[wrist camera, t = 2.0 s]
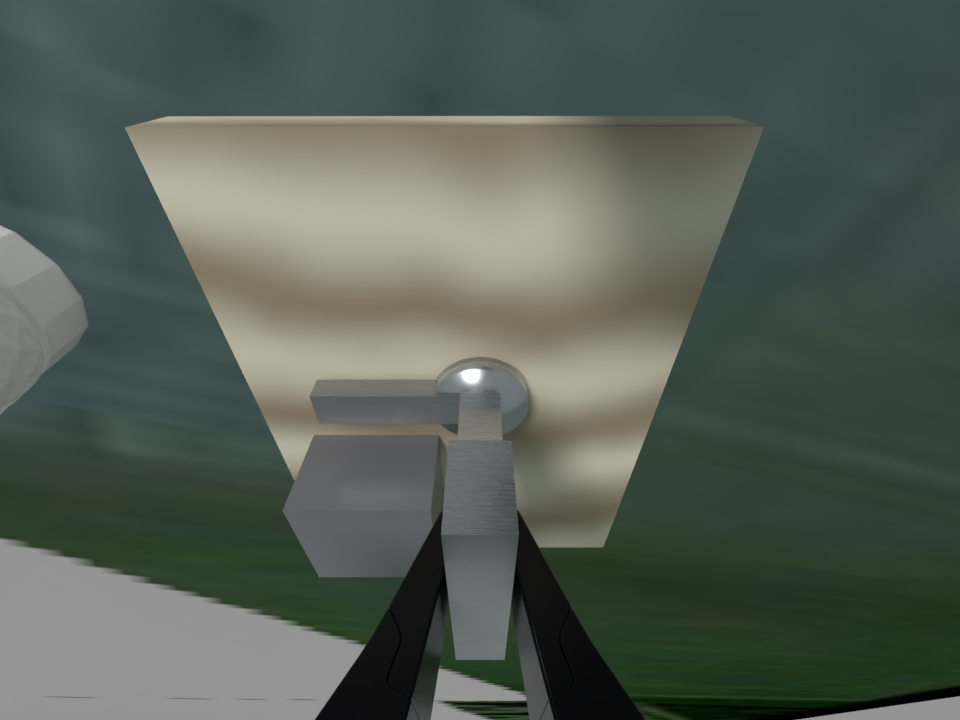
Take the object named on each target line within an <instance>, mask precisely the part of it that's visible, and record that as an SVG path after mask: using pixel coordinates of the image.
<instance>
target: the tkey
mask: <svg viewBox="0 0 960 720" xmlns="http://www.w3.org/2000/svg"><path fill="white" fill-rule="evenodd" d="M309 397H310V400H311V403H312V405H313V408H314V411H315V414H316V416H317V419H318V422H319V424H441V425H442V426H443V427H444V428H446V429H447V430H449V431H450V432H452V433H454V434H457V435H458V440H448V452H447V465H446V478H445V491H444V503H443V516H442V529H441V539H442V548H443V556H444V564H445V573H446V581H447V590H448V598H449V607H450V615H451V624H452V632H453V640H454V649H455V657H456V660H505V652H506V643H507V634H508V626H509V617H510V608H511V600H512V591H513V582H514V574H515V565H516V556H517V548H518V539H519V529H518V516H517V504H516V491H515V478H514V465H513V452H512V440H503V438H502V435H504V434H506V433H508V432H510V431H512V430H513V429H515V428H516V427H517V426H518V425H519V424H520V423H521V422H522V421H523V420H524V418H525V416H526V414H527V411H528V395H527V388H526V383H525V381H524V379H523V377H522V375H521V374H520V373H519V372H518V371H517V370H516V369H515V368H514V367H512V366H511V365H509V364H507V363H505V362H503V361H500V360H497V359H493V358H487V357H473V358H467V359H463V360H460V361H457V362H455V363H453V364H451V365H449V366H448V367H447V368H445V369H444V370H443V371H442V372H441V373H440V374H439V376H438V377H437V379H436V380H317V381H316V383H315V385H314V387H313V389H312V392H311V394H310V396H309Z"/></svg>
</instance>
